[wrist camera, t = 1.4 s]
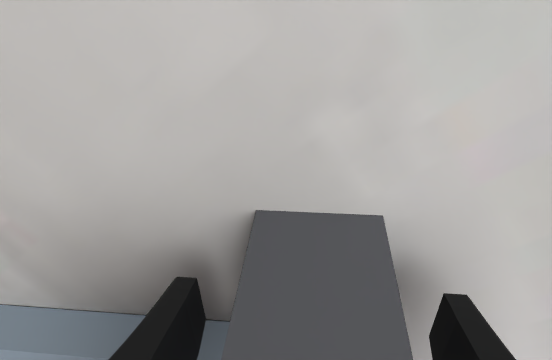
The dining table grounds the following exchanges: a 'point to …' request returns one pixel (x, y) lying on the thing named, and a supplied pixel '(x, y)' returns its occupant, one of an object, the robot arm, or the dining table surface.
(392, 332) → the block
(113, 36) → the dining table surface
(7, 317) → the socket plate
